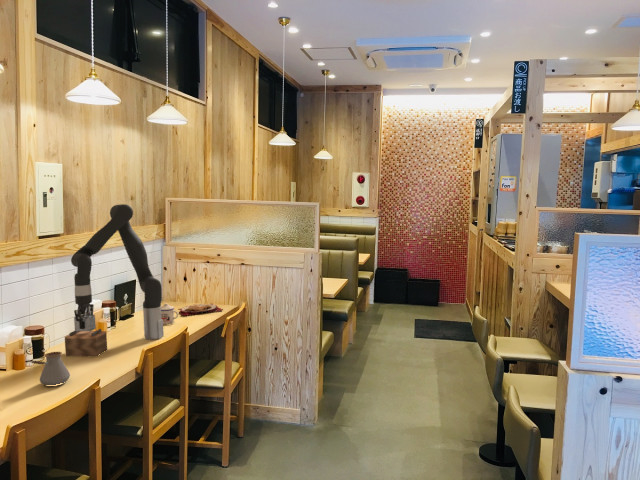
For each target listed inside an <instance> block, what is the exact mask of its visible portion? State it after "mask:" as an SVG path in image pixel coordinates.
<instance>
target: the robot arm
mask: <svg viewBox="0 0 640 480" xmlns="http://www.w3.org/2000/svg"><path fill="white" fill-rule="evenodd" d="M133 215H134V210H133V208H132V206H130V205H128V204H121V203H120V204H115V205H113V206H112V207H111V208H110V211H109V217H110V220H109V221H108V222H107V223H106V224H105V225H104V226H103V227H101V228H100V229H99V230H97V231H96V232H95V233H94V234H93V235H92V236H91V237H90V238H89V239H88V241H87V242H86V243H85V244H84V245H82V247H80V248H79V249H78V250H76V252H74V254H73V255H72V256H71V260H70V263H71V265H72V266H73V267H75V268H77V271H76V273H75V274H74V276H73V277H74V301H75V305H77V309H74V311H73V312H74V317H75V318H76V321H79V325H80V329H84V328H85V325H84V317H86V315H94V304H93V303H92V302H93V294H92V293H93V291H92V285H91V271H92V264H93V263H92V258H91V257H92V256H94V255H97V254H98V253H99V252H100V251H101V250H102V248H103V247H104V246H105V245H106V244H107V243H108V241H110V239H111V238H112V237H113V236H114V235H115V234H116V233H117V232H118V234H119V236H120V238H121V242H122V244H123V246H124V249H125V251H126V253H127V257H128V258H129V261H130V263H131V265H132V267H133V269H134V272H135V274H136V277H137V280H138V283H139V286H140V287H139V288H140V289H141V291H142V292H143V293H144V301H143V302H142V311H143V331H144V334H143V335H144V339H145V340H150V341H151V340H160V339H162V338H163V337H164V335H165V334H164V324H163V319H161V307H162V301H163V299H162V294H163V291H162V289H163V288H162V283H161V281H160V280H159V279H158V278H155V277H154V275H153V274H152V272H151V270H150V267H149V259H148V254H147V253H148V252H147V250H146V247H145V246H144V243H143V240H142V239H141V238H140V237H139V235H138V234H137V233H136V231H134V229H133V227H132V225H131V222H130V221H131V219H132V218H133V217H134V216H133ZM78 317H79V318H78Z"/></svg>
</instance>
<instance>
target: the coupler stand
mask: <svg viewBox="0 0 640 480" xmlns="http://www.w3.org/2000/svg"><path fill="white" fill-rule="evenodd" d="M64 348H65V357H88V356H97V357H99V356H100V355H99V354H101V353H102V352H104V351H105V352H107V351H108V337H107V331H105V330H102V328H99V329H97V330H92V331H75V330H73V331H71V332H69V334H67V335H65V336H64ZM106 350H107V351H106ZM105 352H104V353H105ZM102 354H103V353H102ZM102 354H101V355H102ZM98 355H99V356H98Z"/></svg>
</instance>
